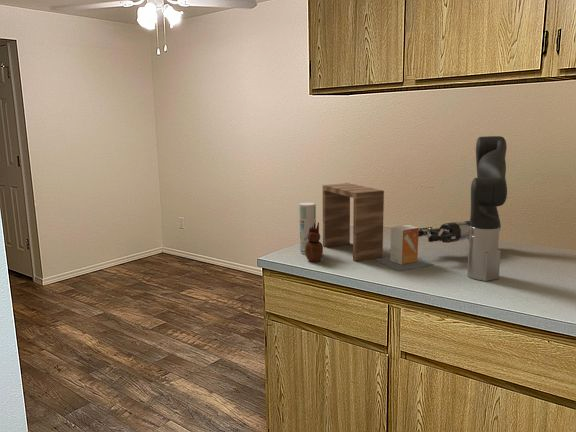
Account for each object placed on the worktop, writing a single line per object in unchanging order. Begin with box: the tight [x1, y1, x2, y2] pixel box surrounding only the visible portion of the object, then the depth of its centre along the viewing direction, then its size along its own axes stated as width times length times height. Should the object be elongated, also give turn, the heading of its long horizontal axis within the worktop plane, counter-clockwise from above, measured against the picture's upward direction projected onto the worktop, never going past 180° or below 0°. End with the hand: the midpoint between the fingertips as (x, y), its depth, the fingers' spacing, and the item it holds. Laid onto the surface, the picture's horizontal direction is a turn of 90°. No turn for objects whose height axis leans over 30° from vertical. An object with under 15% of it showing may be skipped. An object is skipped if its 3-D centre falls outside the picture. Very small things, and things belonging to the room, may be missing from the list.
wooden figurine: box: [304, 221, 324, 263], centre depth 186 cm, size 7×6×15 cm
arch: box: [322, 182, 385, 263], centre depth 196 cm, size 26×12×26 cm, turn 24°
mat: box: [374, 256, 434, 272], centre depth 182 cm, size 15×15×1 cm
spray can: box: [298, 201, 317, 256], centre depth 196 cm, size 6×6×20 cm
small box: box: [389, 224, 419, 265], centre depth 181 cm, size 8×6×13 cm
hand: (421, 236), depth 184 cm, fingers open, 8 cm apart
